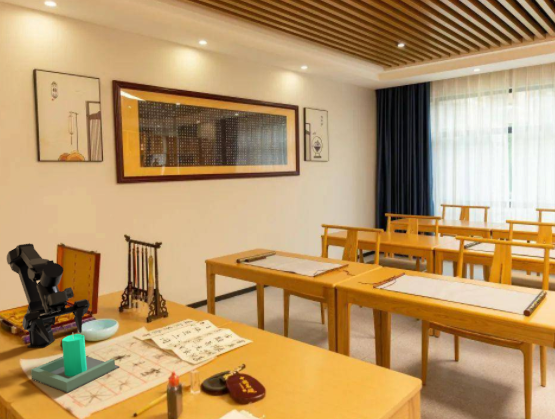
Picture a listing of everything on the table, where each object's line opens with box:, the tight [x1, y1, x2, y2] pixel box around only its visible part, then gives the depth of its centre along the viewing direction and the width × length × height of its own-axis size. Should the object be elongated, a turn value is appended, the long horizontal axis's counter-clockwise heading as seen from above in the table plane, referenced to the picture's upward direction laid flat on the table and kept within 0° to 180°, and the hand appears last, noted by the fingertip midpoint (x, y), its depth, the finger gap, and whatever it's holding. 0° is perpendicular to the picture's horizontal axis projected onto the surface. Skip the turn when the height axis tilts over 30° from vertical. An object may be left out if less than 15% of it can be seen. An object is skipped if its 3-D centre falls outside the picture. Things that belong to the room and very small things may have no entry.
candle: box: [61, 333, 87, 376], centre depth 128 cm, size 6×6×12 cm
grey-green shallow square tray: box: [30, 355, 120, 394], centre depth 128 cm, size 17×17×3 cm
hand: (65, 337), depth 133 cm, fingers open, 9 cm apart
